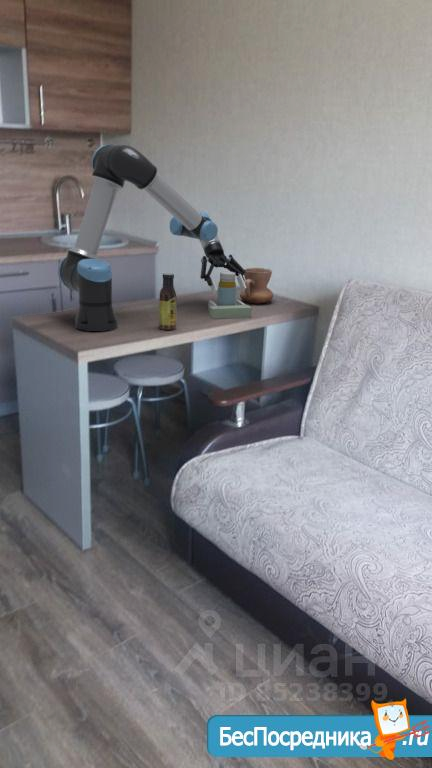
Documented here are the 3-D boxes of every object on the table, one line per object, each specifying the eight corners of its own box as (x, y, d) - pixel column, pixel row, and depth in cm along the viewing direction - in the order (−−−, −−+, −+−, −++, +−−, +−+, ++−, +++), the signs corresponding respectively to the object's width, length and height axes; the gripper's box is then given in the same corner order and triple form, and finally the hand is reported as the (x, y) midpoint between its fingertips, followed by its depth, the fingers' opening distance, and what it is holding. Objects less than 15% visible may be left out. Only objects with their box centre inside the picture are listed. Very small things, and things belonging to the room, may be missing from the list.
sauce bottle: (173, 331, 217) (174, 276, 210) (156, 329, 218) (156, 274, 211) (178, 326, 223) (179, 273, 216) (161, 325, 224) (162, 271, 217)
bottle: (215, 307, 247) (217, 271, 242) (232, 307, 249) (234, 271, 243) (219, 311, 241) (220, 274, 236) (236, 311, 242) (238, 274, 237)
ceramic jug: (253, 296, 276) (254, 265, 271) (280, 301, 268) (282, 269, 263) (230, 303, 263) (231, 270, 257) (258, 308, 255) (259, 275, 249)
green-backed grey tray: (212, 318, 235) (212, 308, 234) (203, 310, 247) (203, 300, 245) (251, 317, 239) (251, 307, 238) (240, 309, 251) (241, 299, 250)
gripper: (234, 251, 256) (251, 293, 250) (182, 254, 244) (199, 298, 237) (241, 240, 250) (260, 283, 243) (188, 242, 238) (206, 287, 231)
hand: (230, 290), depth 240 cm, fingers open, 13 cm apart
